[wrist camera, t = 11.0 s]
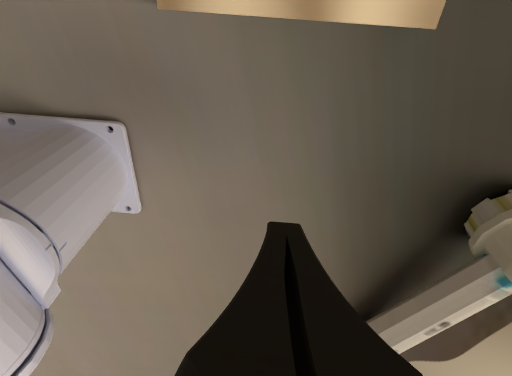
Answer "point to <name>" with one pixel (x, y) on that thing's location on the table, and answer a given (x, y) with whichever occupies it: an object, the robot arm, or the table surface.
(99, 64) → the table surface
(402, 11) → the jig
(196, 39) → the table surface
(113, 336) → the table surface
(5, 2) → the table surface
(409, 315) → the white long knobbed bar
